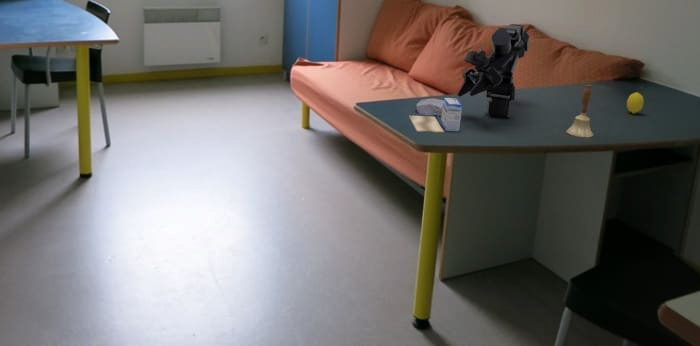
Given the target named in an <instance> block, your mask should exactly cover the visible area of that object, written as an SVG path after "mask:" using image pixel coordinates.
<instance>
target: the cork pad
mask: <svg viewBox="0 0 700 346" xmlns="http://www.w3.org/2000/svg"><path fill="white" fill-rule="evenodd" d="M408 118H409V120H410V121H411V124H412V125H413V127H414V129H415V131H416V132H418V133H420V132H421V133H442V134H444V133H445V129H444V128H443V126H442V125H440V124H441V123H439V122H438V120H437V119H436V116H432V115H408Z"/></svg>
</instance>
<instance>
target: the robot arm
mask: <svg viewBox="0 0 700 346" xmlns="http://www.w3.org/2000/svg"><path fill="white" fill-rule="evenodd" d="M491 45H492V46H491V47H492V52H491V53H490V55H489V56H486V54H487V53H486V51H484V50H482V49H479V50H478V51H476V50H475V51H474V50H471V51H468V52H467V54H466V56H465V58H464V62H465V63H469V64H471V65H472V66H474V68H467V69H465V70H464V71H463V72H462V73H461V74H462V78H463V82H462V84H461V86H460V88H459V90H458V92H457V96H458V97H462V96H464V95H466V94H468V93H469V96H471V97H474V96H476V95H478V94H480V93H482V92H485V91H486V97H485V98H489V100H487V103H486V110H485V111H486V112H485V113H486V115H487V116H489V117H490V118H495V119H496V118H497V119H498V118H499V119H510V116H509V109H510V105H511V104H510V102H511V101H515V99H516V98H515V97H516V87H515V82H514V71H515V69H516V66H517V63H518V61H519V59H522V58H524V57H525V56H526V54H527V52H529V50H530V49H529V48H530V35H529V34H528V33H527V31H526V29H525V25H523V24H517V23H516V24H515V23H510V24H509V25H508V27H503V26H499V27H498V28H497V29H496V30H495V31H494V33H492V35H491Z"/></svg>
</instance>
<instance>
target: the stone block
mask: <svg viewBox="0 0 700 346" xmlns="http://www.w3.org/2000/svg"><path fill="white" fill-rule="evenodd" d="M443 101H444V99H438V98H428V99H427V98H424V99H420V100H419V101H418V103H417V104H416V112H417V113H418V114H420V115H423V114H425V115H424V116H433V115H437V116H436V117H442V109H443Z"/></svg>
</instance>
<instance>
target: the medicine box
mask: <svg viewBox="0 0 700 346" xmlns="http://www.w3.org/2000/svg"><path fill="white" fill-rule="evenodd" d="M443 100H444V101H443V109H442V116H440V117H441V118H440V124H441V125H440V126H441V127H442V128H443V130H444V131H446V132H460V126H461V118H462V111H463V105H462V104H461V102H460V101H459V99H458V98H453V97H444V98H443Z"/></svg>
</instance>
